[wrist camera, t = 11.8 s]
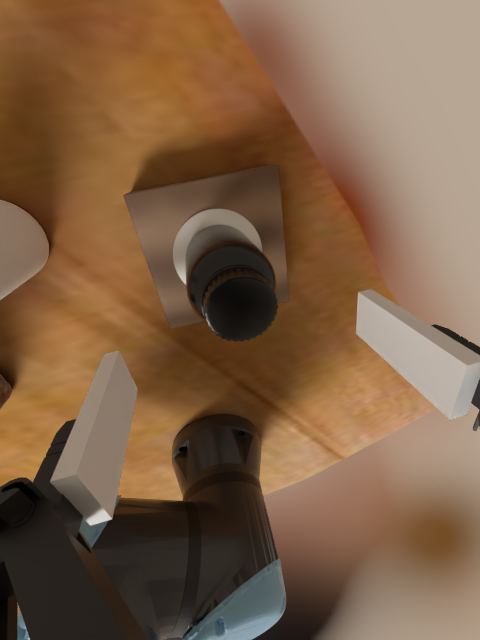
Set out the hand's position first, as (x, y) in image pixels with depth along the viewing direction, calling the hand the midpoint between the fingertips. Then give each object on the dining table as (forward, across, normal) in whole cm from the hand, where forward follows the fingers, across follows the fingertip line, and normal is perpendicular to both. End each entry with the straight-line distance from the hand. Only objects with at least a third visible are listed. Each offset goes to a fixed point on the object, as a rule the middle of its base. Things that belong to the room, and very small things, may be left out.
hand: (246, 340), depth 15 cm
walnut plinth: (+19, 0, -1) cm, 19 cm away
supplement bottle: (+15, 0, 0) cm, 15 cm away
